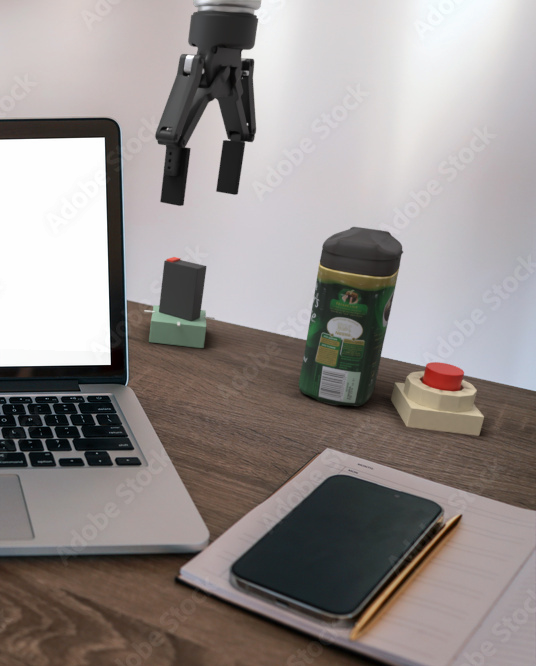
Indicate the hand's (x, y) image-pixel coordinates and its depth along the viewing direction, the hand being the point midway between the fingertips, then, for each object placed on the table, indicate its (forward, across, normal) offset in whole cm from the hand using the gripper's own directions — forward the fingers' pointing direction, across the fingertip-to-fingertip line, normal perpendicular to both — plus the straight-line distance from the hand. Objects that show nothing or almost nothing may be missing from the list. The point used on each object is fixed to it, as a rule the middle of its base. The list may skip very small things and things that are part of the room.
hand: (200, 198), depth 95 cm
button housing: (+18, 0, +31) cm, 36 cm away
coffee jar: (+19, +2, +21) cm, 28 cm away
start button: (+15, 0, +31) cm, 34 cm away
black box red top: (+16, -1, -1) cm, 16 cm away
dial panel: (+19, -1, -1) cm, 19 cm away
